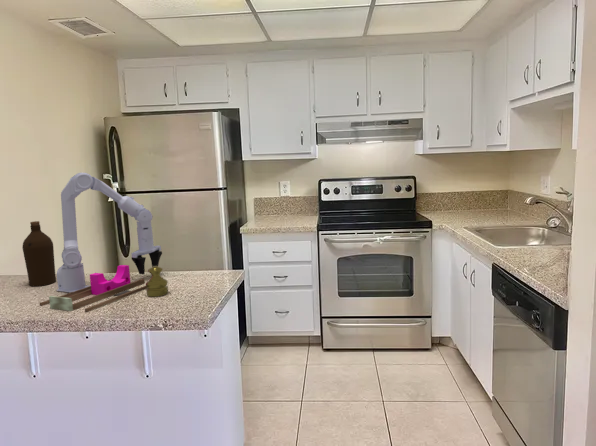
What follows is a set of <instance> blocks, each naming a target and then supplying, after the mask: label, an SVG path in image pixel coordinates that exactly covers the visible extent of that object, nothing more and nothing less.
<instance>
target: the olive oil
mask: <svg viewBox="0 0 596 446" xmlns="http://www.w3.org/2000/svg"><path fill="white" fill-rule="evenodd" d="M40 223H41V222H40V221H39V220H38V221H36V220H35V221H30V233H29V234H28V235H27V236H26V237H25V239H24V240H23V242H22V253H23V258H24V261H25V269H26V272H27V273H26V274H27V278H28V284H29V286H30V287H43V286H44V287H45V286H49V285H52V284H55V283H56V281H57V273H56V266H55V250H54V242H53V240H52V238H51V237H50V236H49V235H47V234H45V233H44V232H43V231H42V229H41V224H40Z"/></svg>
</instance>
